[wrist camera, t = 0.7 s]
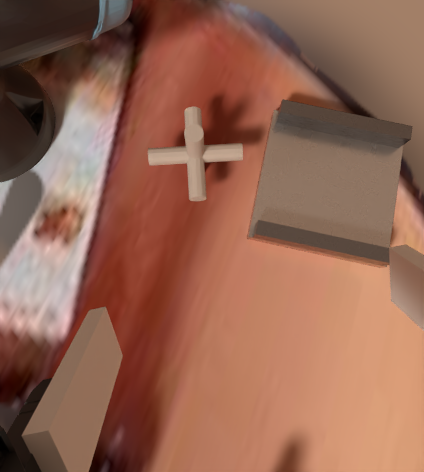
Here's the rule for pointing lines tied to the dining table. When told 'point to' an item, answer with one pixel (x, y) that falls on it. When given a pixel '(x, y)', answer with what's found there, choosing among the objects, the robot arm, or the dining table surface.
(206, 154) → the pipe connector
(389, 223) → the cradle plate
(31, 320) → the dining table surface
